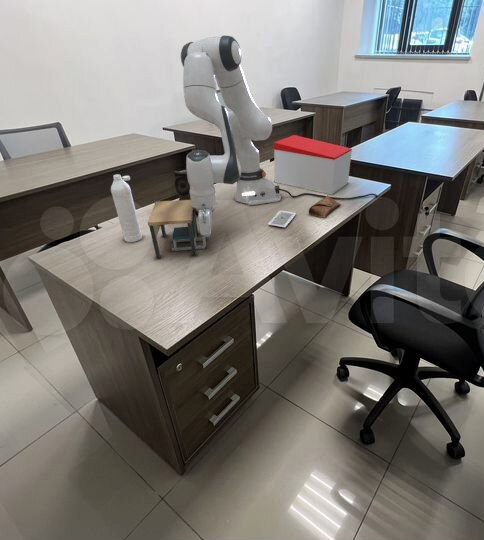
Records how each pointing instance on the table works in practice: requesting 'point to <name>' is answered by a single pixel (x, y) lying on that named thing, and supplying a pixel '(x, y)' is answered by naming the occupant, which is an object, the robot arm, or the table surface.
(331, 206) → the sunglasses case
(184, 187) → the owl
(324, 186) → the red-lidded white box
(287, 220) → the deck of cards
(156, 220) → the desk
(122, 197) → the water bottle
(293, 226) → the table surface
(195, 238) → the chair
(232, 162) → the robot arm
